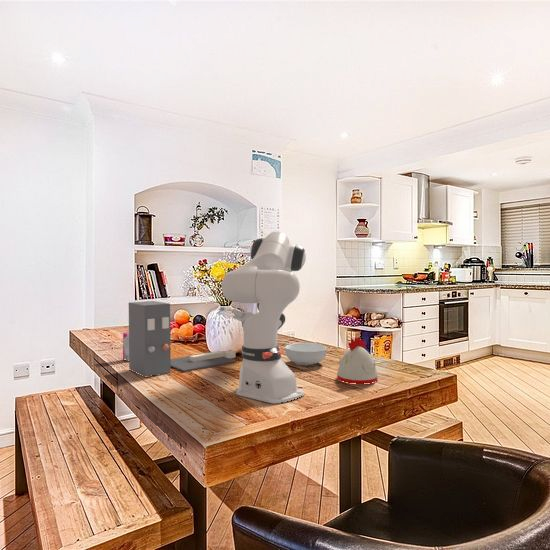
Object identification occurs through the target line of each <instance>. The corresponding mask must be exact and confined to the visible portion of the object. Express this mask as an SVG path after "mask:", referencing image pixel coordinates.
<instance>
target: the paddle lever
mask: <svg viewBox="0 0 550 550" xmlns="http://www.w3.org/2000/svg"><path fill="white" fill-rule="evenodd" d="M219 350H220V349H219ZM219 350H217V351H212V352H210V351H209V352H205V353H204V352H203V353H198V354H192V355H188V356H189V361H191V362H197V361H202V360H208V359H213V358H219V357H226V358H229V359H234V358H236V350H233V349H230V350H228V351H219Z"/></svg>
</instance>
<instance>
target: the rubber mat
mask: <svg viewBox="0 0 550 550" xmlns="http://www.w3.org/2000/svg"><path fill="white" fill-rule="evenodd" d="M189 356H190V355H187V356H186V355H185V356H181V357H174V358H171V367H173V368H172V369H174V368H176V369H175V370H177V369H178V370H177V371H179V370H181V371H180V372H182V371H183V372H182V373H187V372H186V371H189V372H193V371H192V370H194V371H197V370H196V369H199V370H203V369H202V368H204V369H208V367H209V368H213V367H219V366H223V365H228V364H234V363H236V360H235V359H234V358H230V359H229V358H226V357H219V358H213V359H208V360H202V361H197V362H191V361H189Z"/></svg>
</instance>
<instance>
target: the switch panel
mask: <svg viewBox="0 0 550 550" xmlns="http://www.w3.org/2000/svg"><path fill="white" fill-rule="evenodd" d="M128 333H129V362H128V364H129V365H128V367H129V368H128V369H131V370H133V371H135V372H137V373H139V374H141V375H143V376H151V375H156V376H158V375H157V374H161V375H164V374H163V373H167V374H170V373H169V372H171V369H172V368H171V359H172V358H171V356H172V355H171V303H169V302H168V303H167V302H162V301H155V300H150V301H136V302H135V301H133V302H128ZM171 373H172V372H171ZM139 374H138V375H139ZM141 375H140V376H141ZM143 376H142V377H143ZM151 377H152V376H151Z"/></svg>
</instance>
